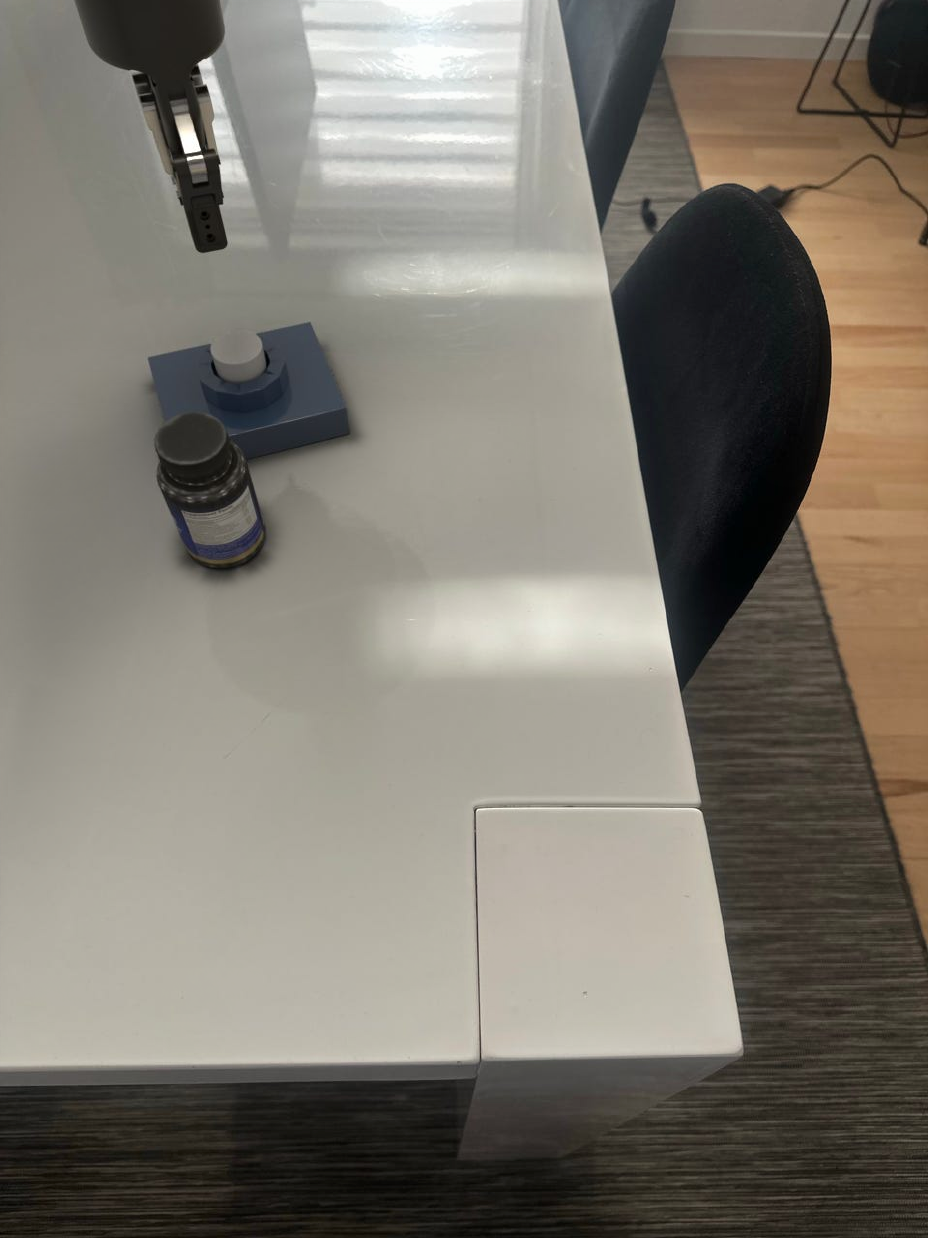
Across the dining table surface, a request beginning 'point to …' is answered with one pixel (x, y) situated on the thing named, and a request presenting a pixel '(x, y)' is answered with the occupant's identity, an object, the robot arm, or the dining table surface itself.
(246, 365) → the white push button
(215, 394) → the blue push button box
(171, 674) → the dining table surface
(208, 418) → the pill bottle
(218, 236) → the robot arm
